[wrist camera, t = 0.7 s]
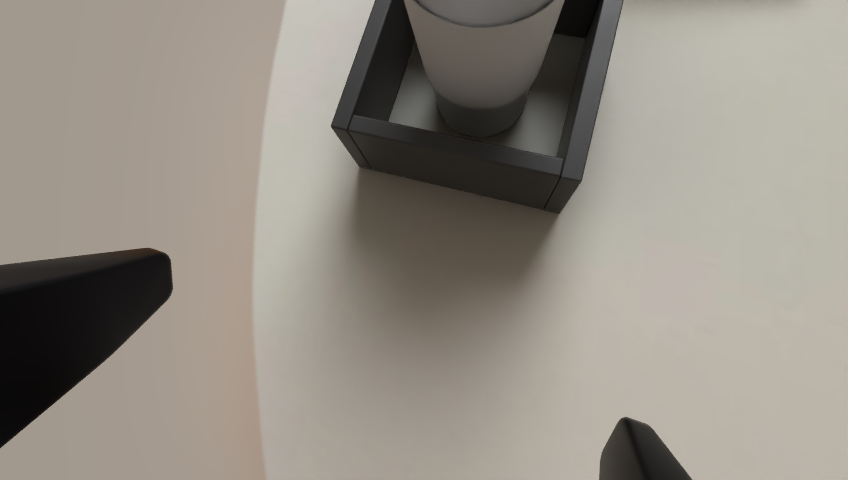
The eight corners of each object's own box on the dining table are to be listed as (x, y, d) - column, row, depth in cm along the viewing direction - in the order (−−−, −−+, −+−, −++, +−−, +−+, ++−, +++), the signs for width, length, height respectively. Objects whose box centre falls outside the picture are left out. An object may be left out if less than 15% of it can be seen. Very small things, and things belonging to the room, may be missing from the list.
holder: (559, 214, 21) (581, 181, 16) (358, 166, 22) (329, 126, 18) (604, 27, 22) (634, -47, 18) (414, -2, 24) (400, -75, 20)
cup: (576, 105, 22) (689, -161, 10) (474, 184, 21) (468, 5, 10) (487, 17, 23) (496, -295, 12) (392, 89, 23) (306, -157, 12)
